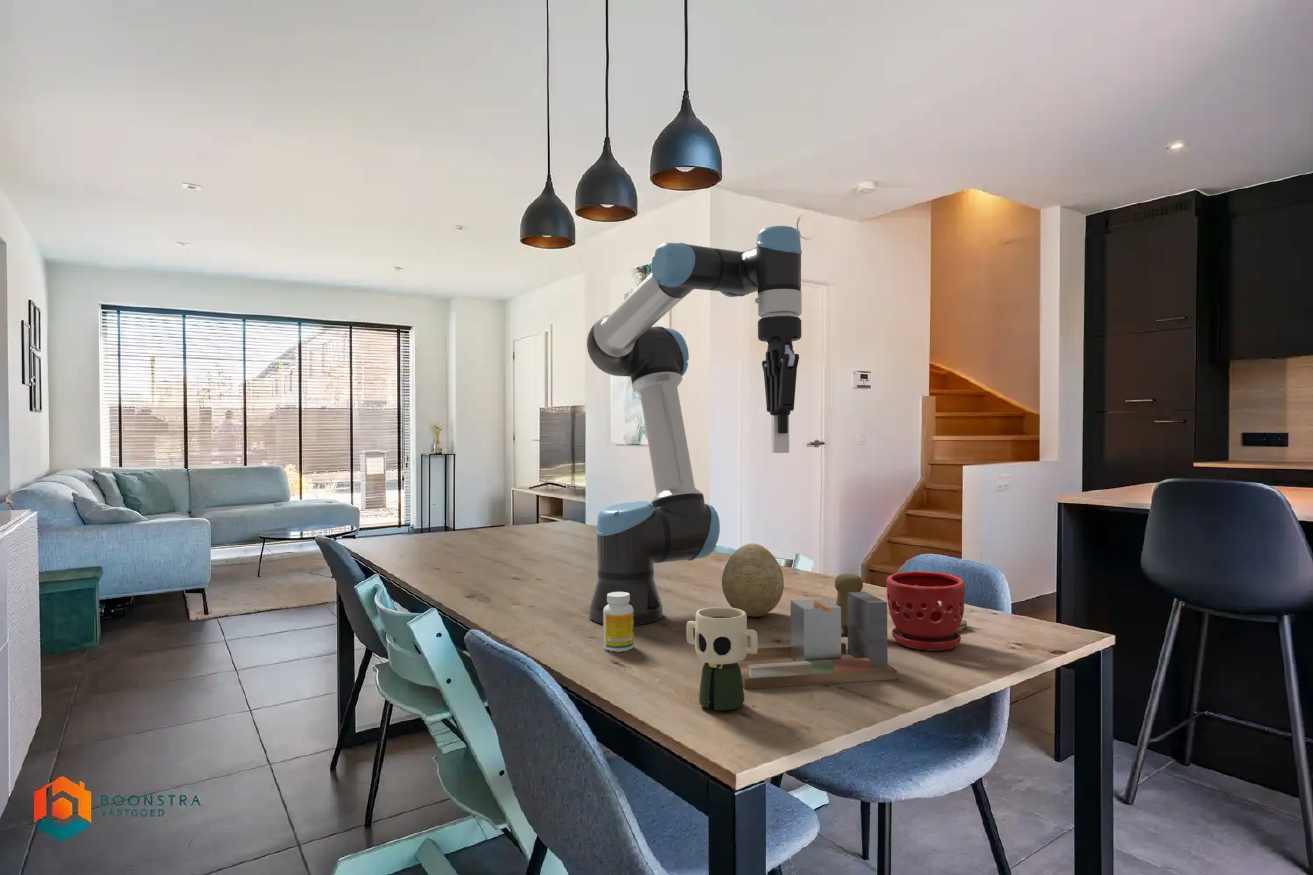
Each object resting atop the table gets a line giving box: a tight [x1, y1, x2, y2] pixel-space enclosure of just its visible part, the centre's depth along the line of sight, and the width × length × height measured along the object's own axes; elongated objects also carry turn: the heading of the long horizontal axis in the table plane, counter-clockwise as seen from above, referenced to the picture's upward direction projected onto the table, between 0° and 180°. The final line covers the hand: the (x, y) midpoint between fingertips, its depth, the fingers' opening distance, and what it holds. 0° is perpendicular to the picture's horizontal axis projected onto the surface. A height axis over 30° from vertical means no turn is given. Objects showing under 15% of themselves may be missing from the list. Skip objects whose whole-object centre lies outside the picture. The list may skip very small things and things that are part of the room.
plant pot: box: [886, 570, 966, 652], centre depth 132 cm, size 13×13×12 cm
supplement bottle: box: [602, 592, 635, 653], centre depth 131 cm, size 5×5×10 cm
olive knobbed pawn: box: [834, 573, 864, 638], centre depth 140 cm, size 6×6×11 cm
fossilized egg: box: [721, 542, 785, 618], centre depth 154 cm, size 13×13×15 cm
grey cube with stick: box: [790, 598, 848, 662], centre depth 116 cm, size 8×8×10 cm
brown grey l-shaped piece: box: [737, 591, 897, 690], centre depth 117 cm, size 11×24×12 cm, turn 99°
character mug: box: [685, 606, 759, 711], centre depth 103 cm, size 11×7×13 cm, turn 58°
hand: (780, 452), depth 130 cm, fingers closed
